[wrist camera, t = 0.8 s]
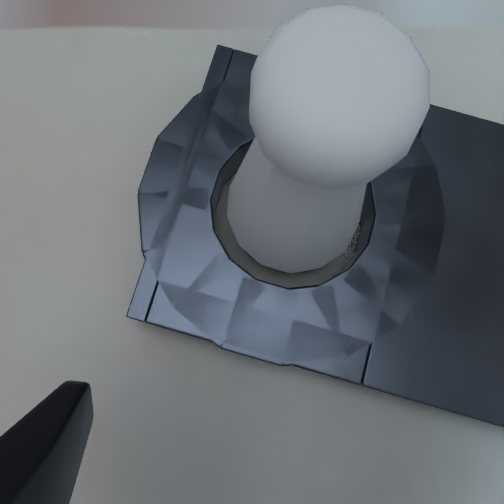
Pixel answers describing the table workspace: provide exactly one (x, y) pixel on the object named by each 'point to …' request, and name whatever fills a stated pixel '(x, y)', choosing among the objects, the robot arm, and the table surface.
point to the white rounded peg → (323, 132)
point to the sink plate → (356, 270)
